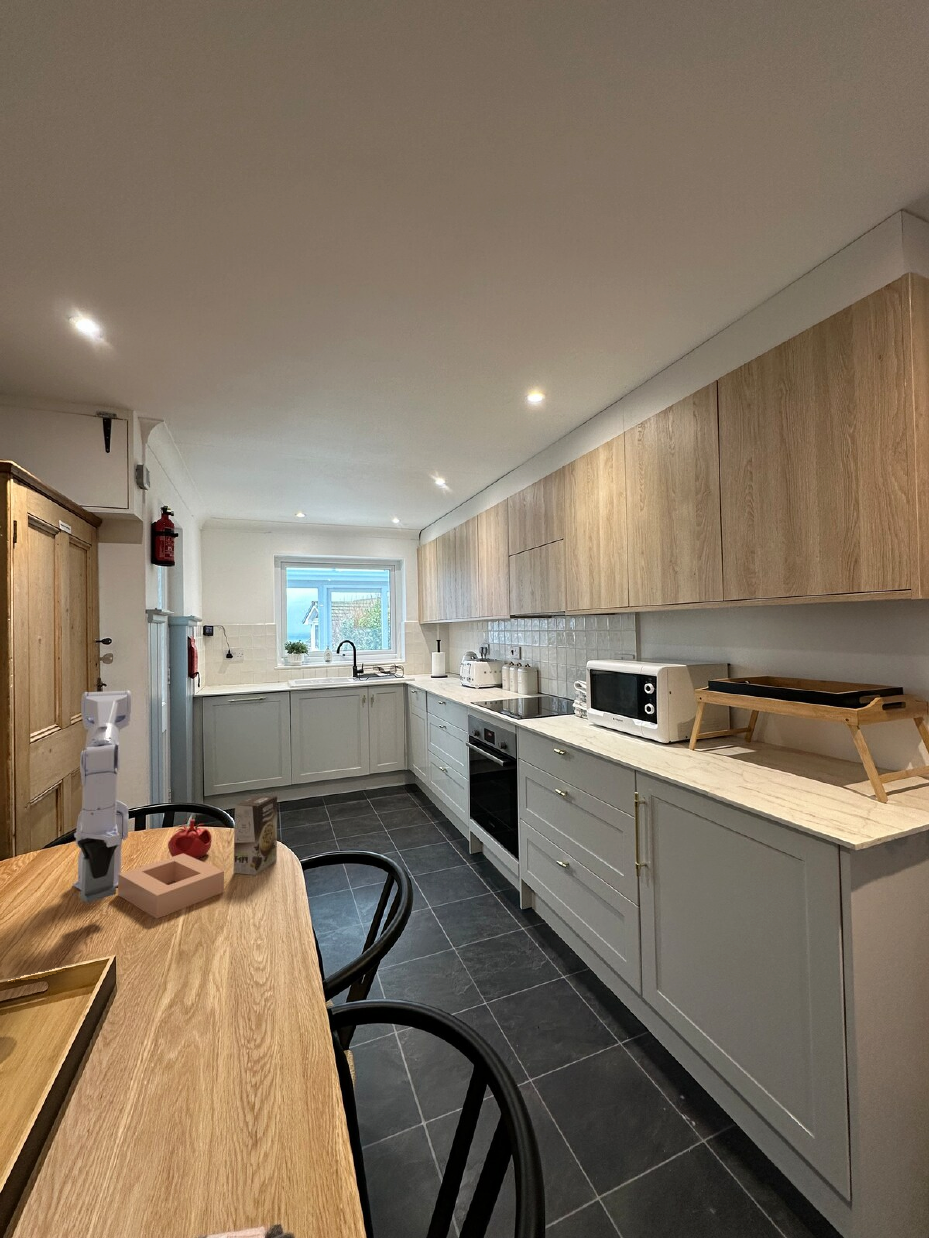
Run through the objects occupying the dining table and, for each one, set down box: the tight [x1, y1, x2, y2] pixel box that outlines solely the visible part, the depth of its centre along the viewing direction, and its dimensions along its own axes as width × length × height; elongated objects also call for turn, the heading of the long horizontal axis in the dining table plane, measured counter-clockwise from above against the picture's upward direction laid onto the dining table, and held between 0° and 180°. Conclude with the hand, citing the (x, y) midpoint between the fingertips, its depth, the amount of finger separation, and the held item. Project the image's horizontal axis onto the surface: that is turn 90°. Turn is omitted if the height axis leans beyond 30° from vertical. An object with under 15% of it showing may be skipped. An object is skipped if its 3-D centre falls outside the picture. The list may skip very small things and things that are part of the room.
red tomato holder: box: [167, 819, 213, 860], centre depth 138 cm, size 10×10×9 cm
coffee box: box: [233, 795, 278, 876], centre depth 131 cm, size 9×6×16 cm
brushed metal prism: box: [78, 852, 117, 904], centre depth 106 cm, size 4×5×8 cm
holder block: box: [117, 854, 225, 919], centre depth 117 cm, size 18×14×4 cm
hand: (97, 875), depth 106 cm, fingers closed on brushed metal prism, 2 cm apart
